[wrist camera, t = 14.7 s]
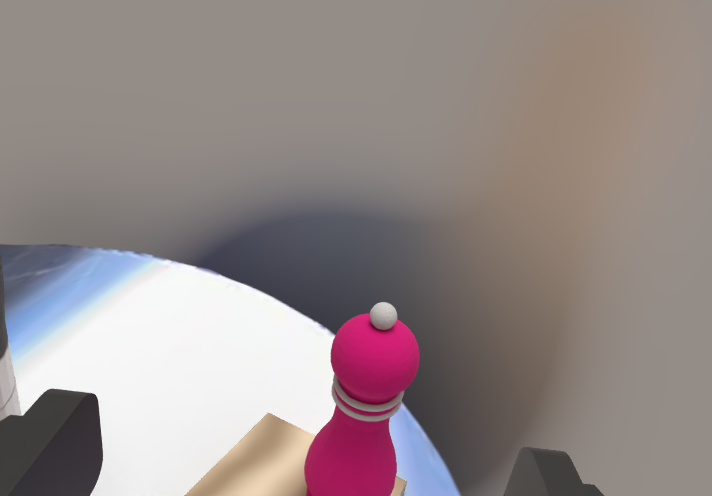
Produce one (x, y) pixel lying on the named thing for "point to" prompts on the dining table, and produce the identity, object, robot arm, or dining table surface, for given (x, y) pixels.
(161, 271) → the dining table surface
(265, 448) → the birch board
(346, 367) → the pepper mill
